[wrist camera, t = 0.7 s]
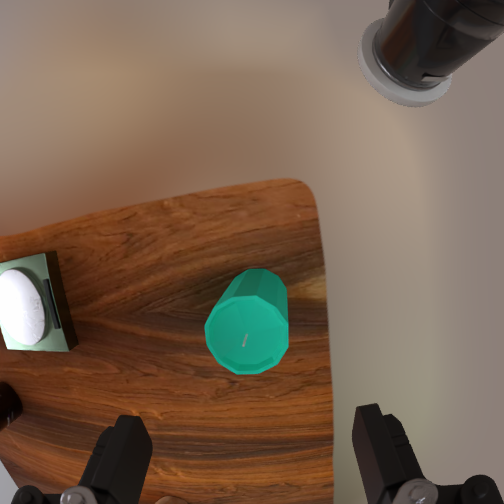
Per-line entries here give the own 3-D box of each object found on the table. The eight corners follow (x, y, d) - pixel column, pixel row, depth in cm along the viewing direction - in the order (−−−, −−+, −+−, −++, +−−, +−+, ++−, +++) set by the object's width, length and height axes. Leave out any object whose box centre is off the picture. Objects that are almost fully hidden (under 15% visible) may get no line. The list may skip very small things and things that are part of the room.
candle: (279, 331, 33) (277, 393, 21) (222, 317, 33) (192, 372, 21) (294, 275, 32) (300, 314, 20) (234, 261, 32) (206, 291, 20)
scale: (56, 250, 34) (39, 253, 31) (79, 344, 35) (65, 353, 32) (-3, 263, 35) (-18, 267, 32) (17, 343, 37) (4, 351, 34)
